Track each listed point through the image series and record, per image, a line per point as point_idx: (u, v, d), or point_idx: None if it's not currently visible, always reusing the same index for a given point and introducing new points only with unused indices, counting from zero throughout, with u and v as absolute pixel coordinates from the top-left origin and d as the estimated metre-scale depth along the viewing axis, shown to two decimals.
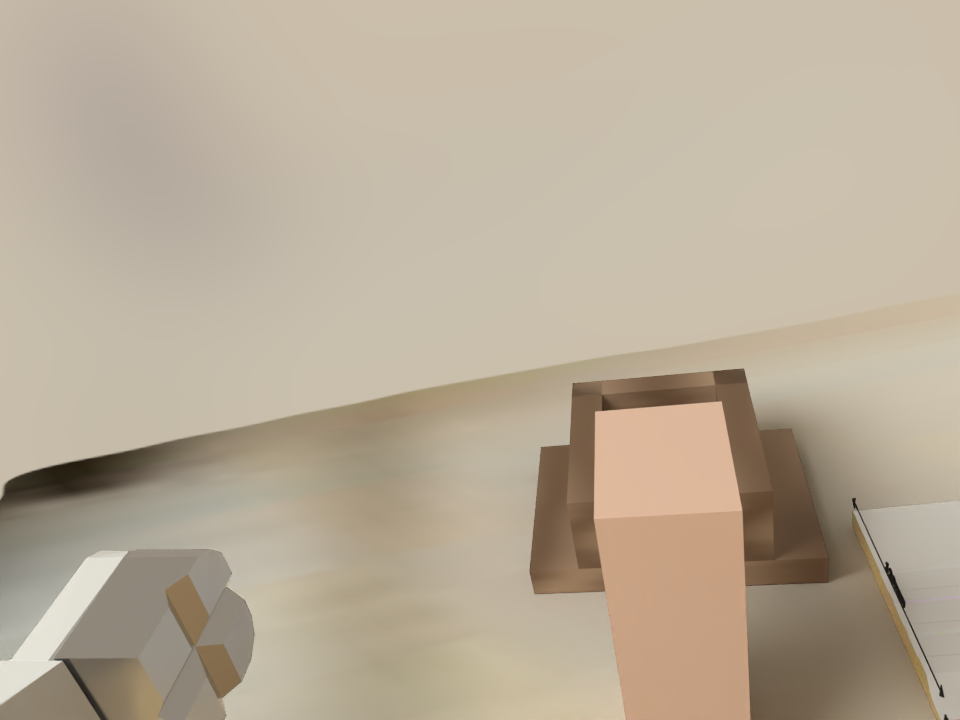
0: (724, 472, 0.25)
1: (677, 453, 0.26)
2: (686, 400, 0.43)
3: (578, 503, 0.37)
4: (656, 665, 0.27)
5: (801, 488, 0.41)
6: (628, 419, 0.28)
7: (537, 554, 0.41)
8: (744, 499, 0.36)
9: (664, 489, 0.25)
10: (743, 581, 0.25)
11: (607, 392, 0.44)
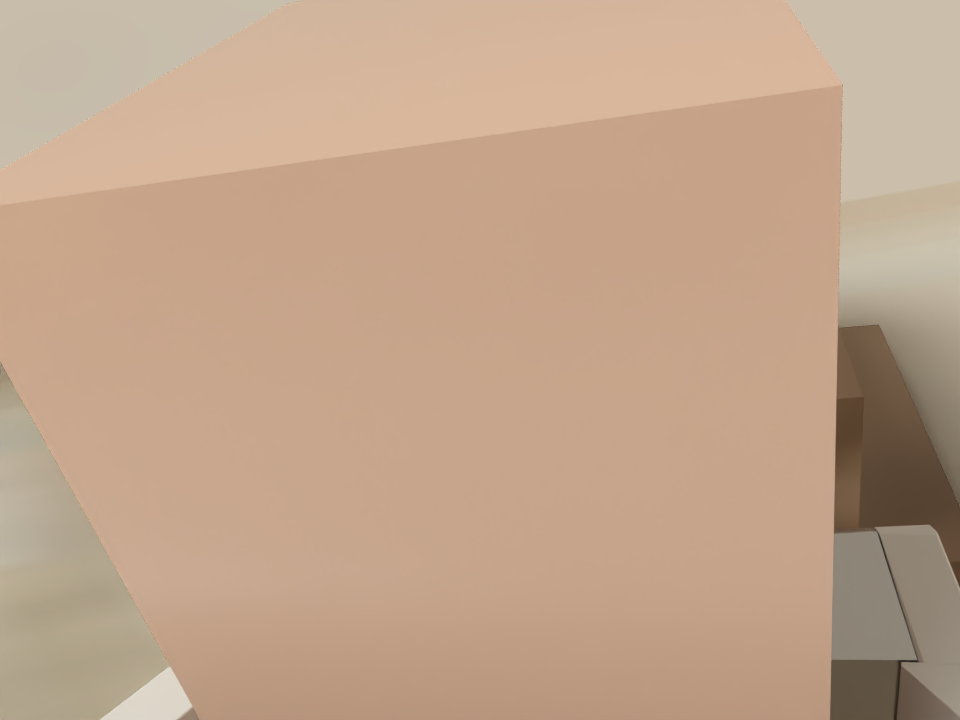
0: (725, 7, 0.04)
1: (512, 10, 0.06)
2: None
3: None
4: None
5: (907, 423, 0.20)
6: None
7: None
8: None
9: (385, 87, 0.04)
10: (822, 618, 0.04)
11: None
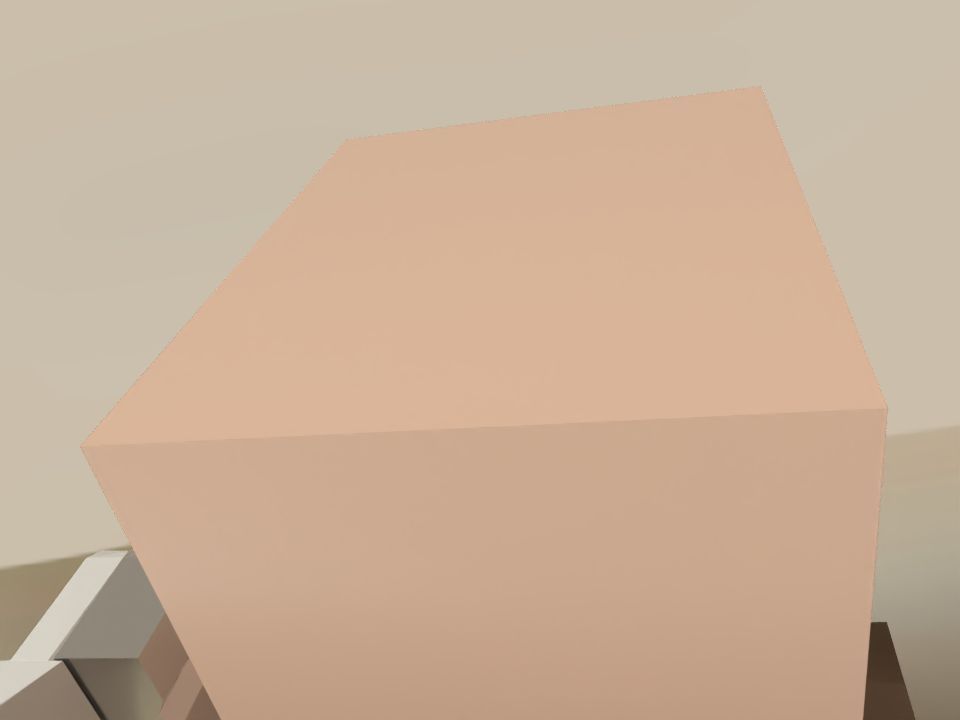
0: (773, 253, 0.05)
1: (573, 206, 0.06)
2: None
3: None
4: None
5: None
6: (436, 144, 0.08)
7: None
8: None
9: (476, 320, 0.05)
10: None
11: None
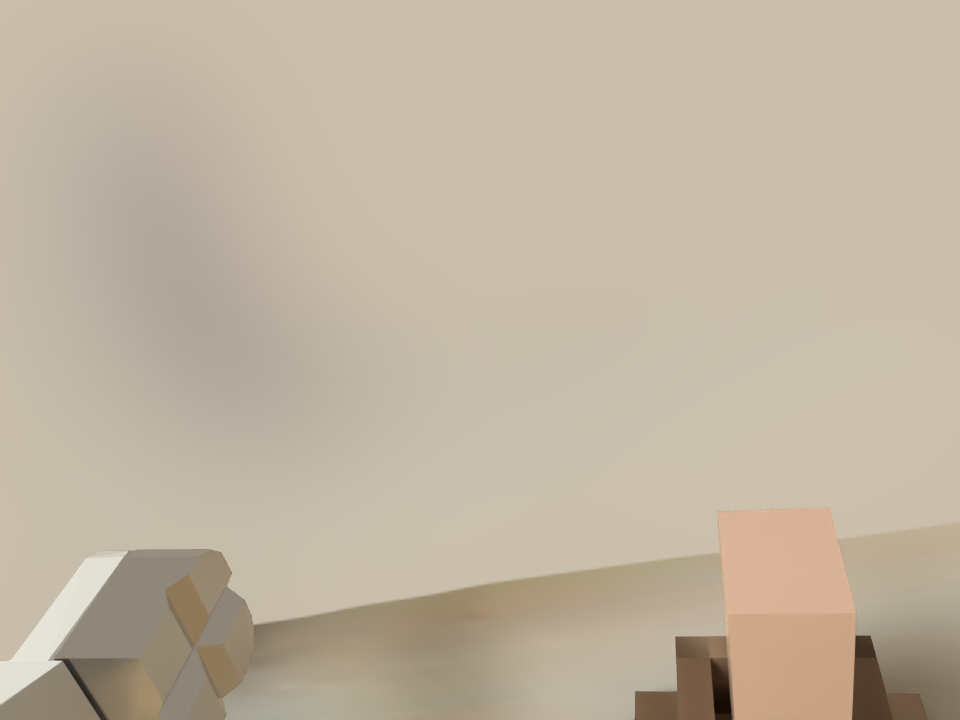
0: (837, 576, 0.29)
1: (794, 555, 0.31)
2: None
3: None
4: None
5: None
6: (748, 520, 0.32)
7: None
8: None
9: (786, 589, 0.29)
10: (852, 669, 0.29)
11: (716, 654, 0.40)
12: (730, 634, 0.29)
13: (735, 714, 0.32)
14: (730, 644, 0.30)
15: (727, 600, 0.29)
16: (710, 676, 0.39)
